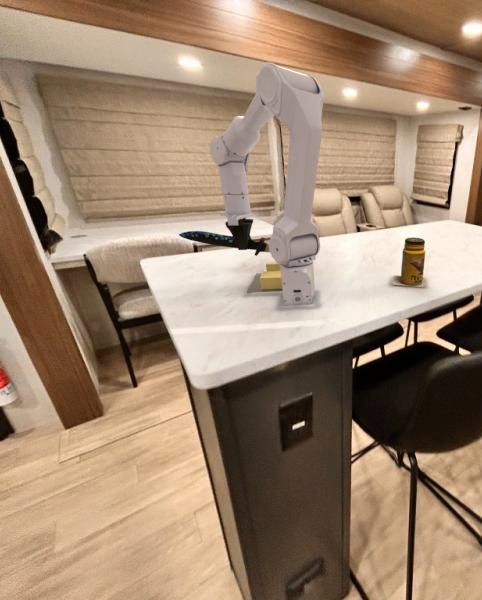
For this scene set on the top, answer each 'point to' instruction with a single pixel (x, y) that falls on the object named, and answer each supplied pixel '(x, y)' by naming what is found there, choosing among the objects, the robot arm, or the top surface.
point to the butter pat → (273, 266)
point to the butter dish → (259, 286)
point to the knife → (224, 240)
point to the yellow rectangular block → (271, 280)
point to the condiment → (412, 264)
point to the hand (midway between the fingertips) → (243, 248)
